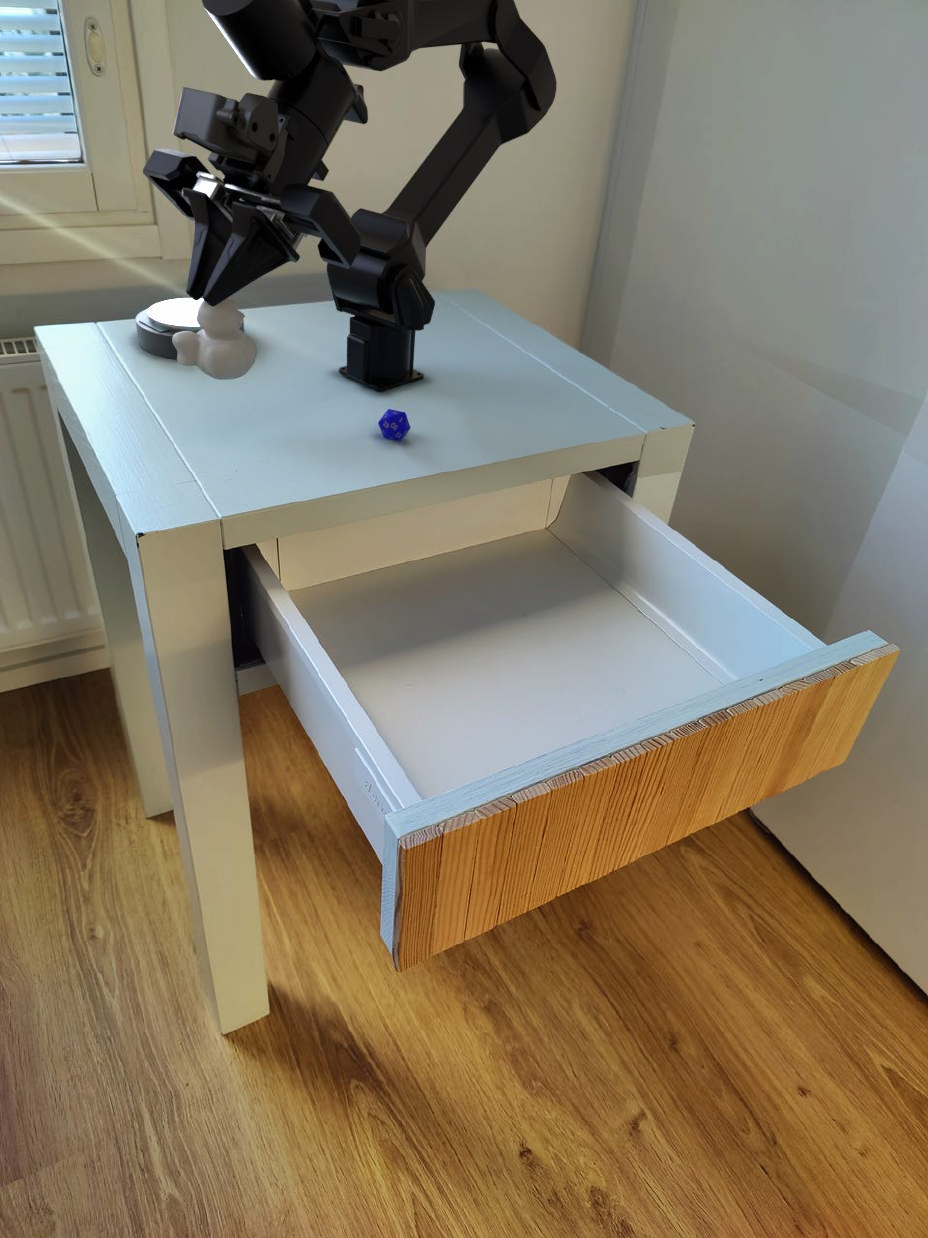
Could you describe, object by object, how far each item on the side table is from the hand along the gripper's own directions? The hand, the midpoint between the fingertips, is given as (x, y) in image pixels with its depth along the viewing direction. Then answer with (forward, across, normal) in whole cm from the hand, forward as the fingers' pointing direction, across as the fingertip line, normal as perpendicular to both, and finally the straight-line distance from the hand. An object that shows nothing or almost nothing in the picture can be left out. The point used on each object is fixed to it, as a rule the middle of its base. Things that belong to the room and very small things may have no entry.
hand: (199, 299), depth 67 cm
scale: (-2, -20, +20) cm, 28 cm away
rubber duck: (+4, 0, +6) cm, 7 cm away
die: (0, +10, +18) cm, 20 cm away
